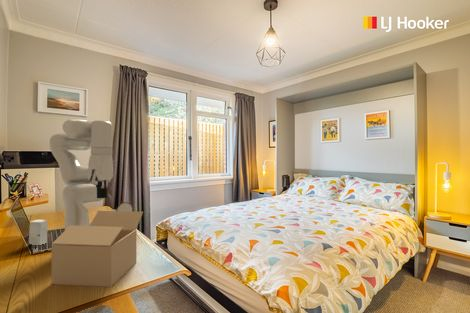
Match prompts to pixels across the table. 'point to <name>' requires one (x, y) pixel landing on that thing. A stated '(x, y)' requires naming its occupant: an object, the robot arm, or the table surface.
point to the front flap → (88, 235)
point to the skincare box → (38, 232)
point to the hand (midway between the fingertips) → (101, 197)
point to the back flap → (117, 219)
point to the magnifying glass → (125, 207)
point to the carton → (94, 261)
